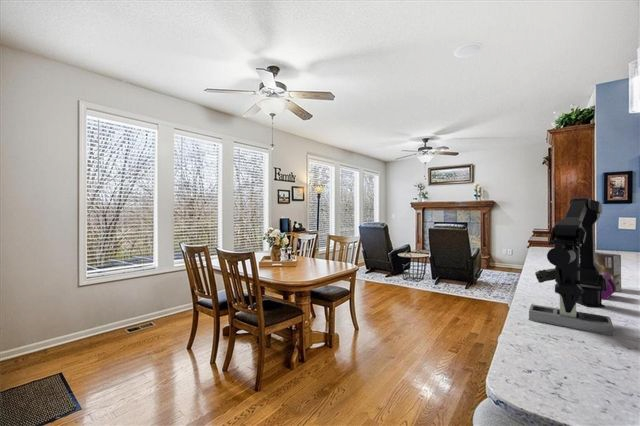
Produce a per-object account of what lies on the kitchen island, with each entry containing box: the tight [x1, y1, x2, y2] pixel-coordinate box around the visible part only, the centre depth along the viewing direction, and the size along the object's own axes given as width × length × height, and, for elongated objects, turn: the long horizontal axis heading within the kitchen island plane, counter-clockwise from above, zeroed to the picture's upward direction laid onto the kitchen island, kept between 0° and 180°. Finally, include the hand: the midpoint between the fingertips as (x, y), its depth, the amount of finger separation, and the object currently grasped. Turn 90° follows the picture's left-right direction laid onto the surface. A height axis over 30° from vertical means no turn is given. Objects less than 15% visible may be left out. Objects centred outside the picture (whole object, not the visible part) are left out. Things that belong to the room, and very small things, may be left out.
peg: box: [559, 295, 577, 317], centre depth 95 cm, size 4×4×8 cm
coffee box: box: [595, 251, 622, 293], centre depth 134 cm, size 9×6×16 cm
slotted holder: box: [528, 303, 614, 337], centre depth 95 cm, size 20×9×3 cm, turn 50°
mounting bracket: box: [599, 273, 617, 300], centre depth 127 cm, size 9×8×18 cm
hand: (568, 310), depth 95 cm, fingers closed on peg, 4 cm apart
